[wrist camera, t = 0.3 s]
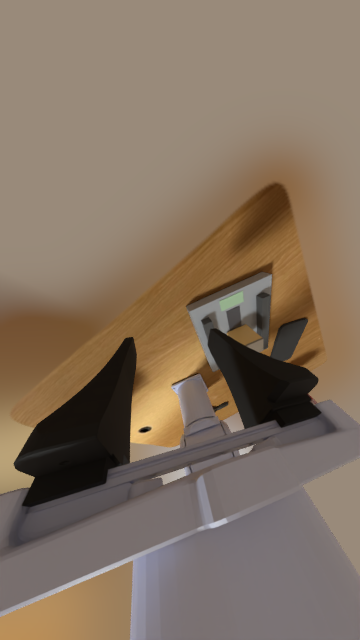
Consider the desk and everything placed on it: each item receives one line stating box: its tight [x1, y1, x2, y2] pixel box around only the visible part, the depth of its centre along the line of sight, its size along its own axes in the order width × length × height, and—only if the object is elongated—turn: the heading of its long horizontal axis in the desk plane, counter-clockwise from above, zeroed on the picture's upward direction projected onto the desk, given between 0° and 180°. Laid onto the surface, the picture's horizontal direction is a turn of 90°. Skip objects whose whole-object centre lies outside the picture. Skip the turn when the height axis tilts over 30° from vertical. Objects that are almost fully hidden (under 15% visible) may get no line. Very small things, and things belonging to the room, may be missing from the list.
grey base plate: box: [186, 272, 272, 372], centre depth 26 cm, size 18×14×2 cm
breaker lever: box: [226, 324, 263, 352], centre depth 23 cm, size 3×4×4 cm
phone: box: [270, 318, 308, 361], centre depth 34 cm, size 7×1×15 cm
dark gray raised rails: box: [201, 292, 271, 369], centre depth 24 cm, size 13×11×1 cm
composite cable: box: [213, 402, 228, 412], centre depth 45 cm, size 10×5×2 cm, turn 96°
